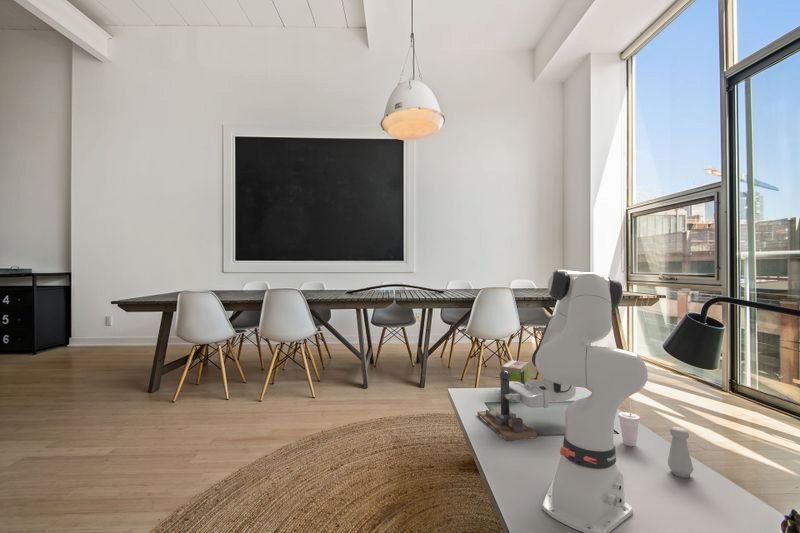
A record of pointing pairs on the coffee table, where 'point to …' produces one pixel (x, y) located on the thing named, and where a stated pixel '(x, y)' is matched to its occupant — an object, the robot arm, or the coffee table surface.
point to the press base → (508, 426)
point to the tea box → (517, 371)
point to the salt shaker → (680, 453)
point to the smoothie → (629, 427)
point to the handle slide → (505, 406)
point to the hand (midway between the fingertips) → (502, 394)
